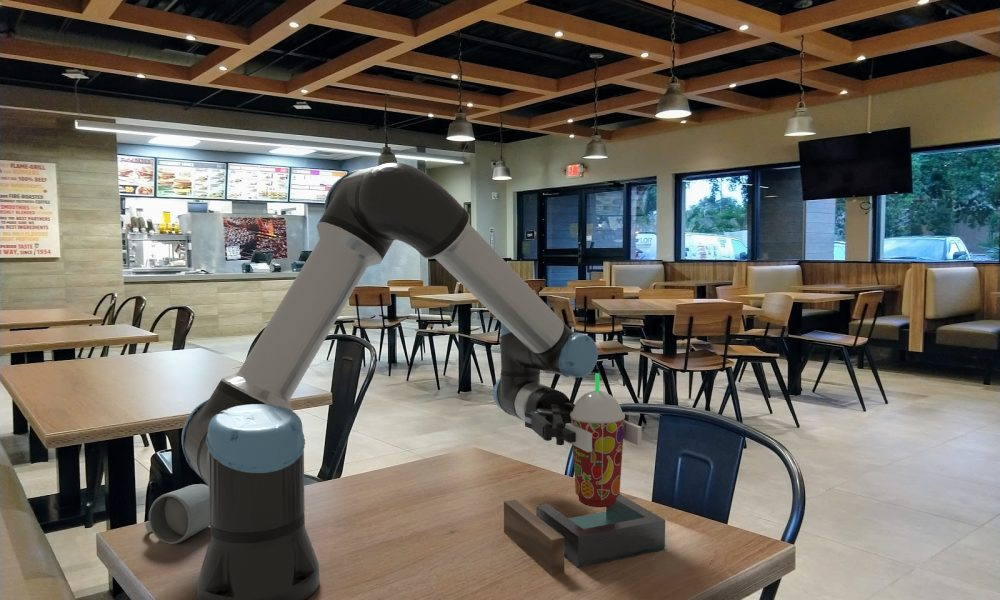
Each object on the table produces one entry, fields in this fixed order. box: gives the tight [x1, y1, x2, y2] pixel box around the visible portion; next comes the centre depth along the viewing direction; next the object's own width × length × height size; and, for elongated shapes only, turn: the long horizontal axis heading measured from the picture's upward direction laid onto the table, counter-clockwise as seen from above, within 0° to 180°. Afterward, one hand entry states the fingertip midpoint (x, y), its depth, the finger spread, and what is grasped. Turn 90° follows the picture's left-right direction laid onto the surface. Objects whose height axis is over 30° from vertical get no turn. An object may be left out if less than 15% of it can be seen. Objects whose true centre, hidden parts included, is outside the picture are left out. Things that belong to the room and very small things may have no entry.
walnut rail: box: [503, 499, 565, 576], centre depth 100 cm, size 2×16×5 cm, turn 24°
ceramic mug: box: [144, 483, 210, 545], centre depth 107 cm, size 11×8×8 cm
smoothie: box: [570, 372, 626, 508], centre depth 104 cm, size 8×8×20 cm
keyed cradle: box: [535, 493, 666, 568], centre depth 105 cm, size 15×15×4 cm
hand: (615, 439), depth 100 cm, fingers closed on smoothie, 8 cm apart
